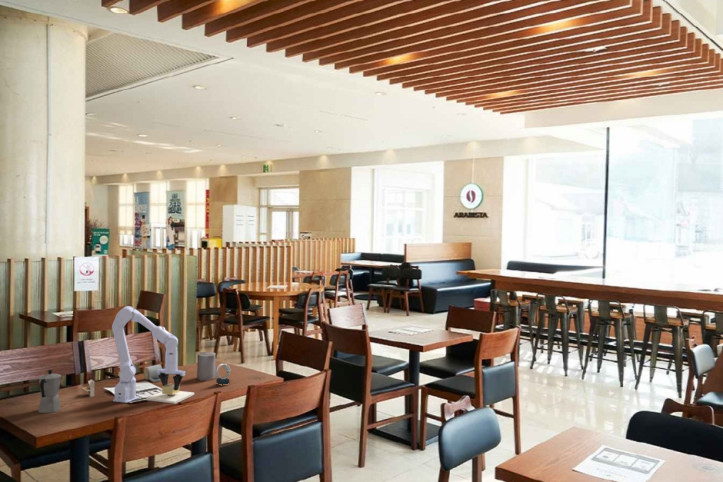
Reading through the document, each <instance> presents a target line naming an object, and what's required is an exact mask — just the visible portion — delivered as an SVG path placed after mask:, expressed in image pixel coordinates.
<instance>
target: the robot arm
mask: <svg viewBox="0 0 723 482" xmlns="http://www.w3.org/2000/svg"><path fill="white" fill-rule="evenodd" d="M130 321H131V322H133V323H134V322H135V323H139V324H141V325H142V326H143V327H145V328H146V329H148V330H149V331H150V332H151V336H152V337H154V339H156V340H158V342H160V343H161V344H162V345H163V344H164V347H165V355H164V356H165V357H164V359H165V360H164V368H162V369H158V370H157V373H158V374H159V373H160V375H159V378H160V382H161V385H162V386H164V385H167V384H169V383H168V382H169V375H173V376H172V379H173V384H174V389H175V390H178V388H179V385H181V382H182V379H183V378H184V376H186V371H185V370H180V369H178V357H179V356H178V353H179V351H178V349H179V348H178V344H179V339H178V337H177V336H176V335H173V333H170V332H169V331H168V330H167V329H166V328H165V327H164V326H162V325H158V326H157V325H155V324H154V323H153V322H152V321H151V320H150V319H148V318H147V316H145V315H143V314H142V313H141V312H140V311H139V310H138V309H135V308H134V307H133V306H131V305H125V306H124V307H122V309H120V310H119V311H118V312H117V313H116V315H115V318H114V320H113V323H112V325H111V330H112V334H113V338H114V342H115V347H116V351H117V356H118V360H119V371H120V372H119V382H118V383H117V384H116V385H115V386H114V398H113V399H112V401H113V402H117V403H123V404H124V403H130V402H132V401H135V400H137V399H139V398H140V396H136V391H137V390H136V389H137V388H136V387H137V384H136V383H137V379H136V377H135V375H136V374H137V368H136V366H135V365H134V364H133V361H132V359H131V355H130V351H129V347H128V343H127V342H128V341H127V336H126V333H125V330H124V327H125V326H126V325H127V323H128V322H130Z"/></svg>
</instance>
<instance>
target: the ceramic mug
mask: <svg viewBox="0 0 723 482" xmlns="http://www.w3.org/2000/svg"><path fill="white" fill-rule="evenodd" d="M158 369H163V367H162V365H161V364H160V363H159V364H154V365H150V366H146V367H145V368H144V370H143V376H144V379H145V380H147V381H151V382H153V383H158V382H161V380H160V378H159V375H160V373H159V374H158V373H157V370H158Z"/></svg>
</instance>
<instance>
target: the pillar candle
mask: <svg viewBox="0 0 723 482" xmlns="http://www.w3.org/2000/svg"><path fill="white" fill-rule="evenodd" d="M216 354H217V353H216V352H213V351H201V352H198V353H197V362H196V363H197V367H196V369H197V371H196V373H197V374H196V379H197V380H198V379H199V380H198V381H210V380H209V379H212V380H214V379H213V378H215V379H216Z"/></svg>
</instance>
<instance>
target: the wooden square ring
mask: <svg viewBox="0 0 723 482" xmlns="http://www.w3.org/2000/svg"><path fill="white" fill-rule="evenodd" d="M169 385H174V383H171V382H170V383H168V384H167V385H164V386H163V385H162V386H161V387H162V389H161V392H162V394H170V395H173V394H176V393H178V392H180V391H181V390H180V388H181V386H180V385H181V384H180V385H179V388H178V390H175V389H174V386H173V387H168V386H169Z"/></svg>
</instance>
